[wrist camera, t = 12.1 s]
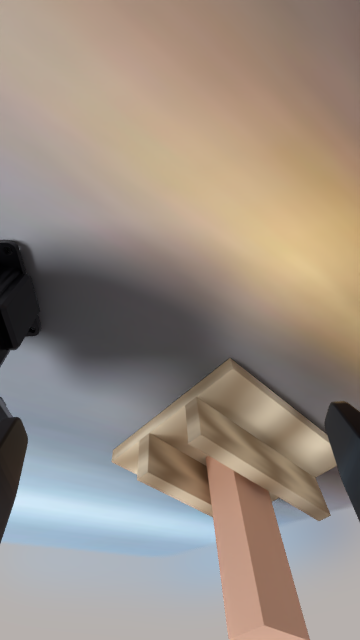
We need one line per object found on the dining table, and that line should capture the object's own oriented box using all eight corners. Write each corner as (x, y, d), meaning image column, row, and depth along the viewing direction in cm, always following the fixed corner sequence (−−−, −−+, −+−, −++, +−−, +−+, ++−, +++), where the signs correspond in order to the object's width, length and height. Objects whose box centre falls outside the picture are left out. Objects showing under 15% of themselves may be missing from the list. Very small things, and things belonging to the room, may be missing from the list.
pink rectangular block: (205, 457, 30) (228, 638, 20) (227, 442, 29) (264, 625, 19) (238, 477, 32) (275, 653, 22) (260, 463, 31) (310, 641, 21)
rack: (113, 449, 31) (106, 501, 27) (229, 358, 26) (242, 404, 22) (231, 511, 37) (239, 560, 33) (343, 447, 32) (369, 496, 28)
